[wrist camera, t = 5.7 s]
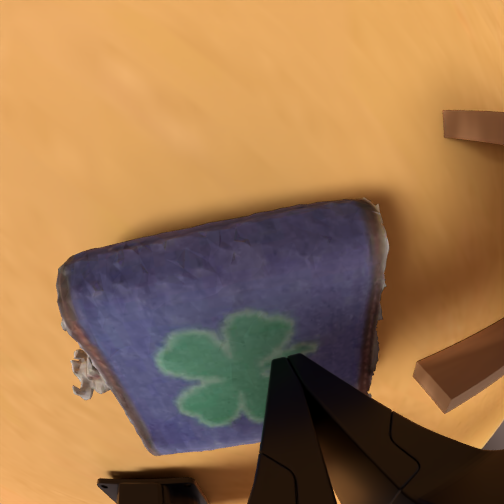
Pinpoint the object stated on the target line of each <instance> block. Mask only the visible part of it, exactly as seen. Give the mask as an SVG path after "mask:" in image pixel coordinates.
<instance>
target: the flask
mask: <svg viewBox="0 0 504 504" xmlns="http://www.w3.org/2000/svg"><path fill="white" fill-rule="evenodd" d="M382 224H383V220H382V217H381V215H380V210H379V204H377V205H376V206H375V205H374V204H373V203H372V202H371V201H370V200H367V199H366V198H362V199H356V200H354V199H344V200H339V201H327V202H316V203H312V204H299V205H295V206H292V207H286V208H280V209H277V210H274V211H267V212H260V213H255V214H253V215H250V216H246V217H240V218H235V219H229V220H223V221H217V222H211V223H207V224H203V225H199V226H196V227H192V228H187V229H181V230H176V231H171V232H165V233H160V234H157V235H153V236H148V237H142V238H138V239H134V240H130V241H126V242H122V243H117V244H113V245H109V246H105V247H101V248H94V249H90V250H86V251H83V252H80V253H78V254H76V255H73V256H71V257H70V258H69V259H68V260H67V261H66V262H65V263H64V264H63V265H62V266H61V267H60V268H59V269H58V277H57V283H56V288H57V293H58V301H57V302H58V306H59V310H60V314H61V317H62V322H61V326H62V328H63V330H64V331H67V332H68V334H69V335H70V336H71V337H72V338H73V339H74V340H75V341H76V342H78V344H79V346H80V348H81V349H82V350H80V349H78V350H76V351H75V352H74V358H75V359H79V361H75V360H71V363H72V370H73V372H74V374H75V375H76V376H77V377H78V379H79V380H80V381H81V388H80V389H79V388H77V387H75V386H74V385H73V387H72V388H73V392H74V394H75V395H79V396H81V397H82V398H83V399H85V400H88V399H91V397H92V394H93V390H94V389H95V390H96V392H98V393H100V394H102V393H105V392H107V391H109V390H111V391H112V392H113V394H114V395H115V397H116V399H117V400H118V402H119V403H120V405H121V406H122V408H123V409H124V411H125V413H126V415H127V417H128V418H129V420H130V422H131V423H132V424H133V425H134V427H135V429H136V432H137V434H138V435H139V436H140V438H141V440H142V442H143V444H144V446H145V447H146V449H147V450H148V451H149V452H150V453H151V454H153V455H155V456H160V455H167V454H175V453H183V452H193V451H204V450H214V449H219V448H225V447H232V446H238V445H244V444H253V443H258V442H261V436H262V429H263V422H264V415H265V407H266V400H267V392H268V384H269V376H270V368H271V361H272V360H273V359H276V358H280V357H286V358H287V356H289V355H293V354H297V353H302V354H303V355H305V356H306V357H308V358H310V359H311V360H313V361H314V362H316V363H317V364H319V365H320V366H322V367H323V368H325V369H326V370H328V371H329V372H331V373H333V374H334V375H336V376H337V377H339V378H340V379H342V380H344V381H345V382H347V383H348V384H350V385H352V386H353V387H355V388H356V389H358V390H360V391H361V392H363V393H364V394H366V395H368V396H369V397H371V394H368V393H367V391H369V388H370V385H371V380H372V376H373V375H374V373H373V372H374V371H375V369H376V363H377V361H378V352H379V345H378V344H379V342H378V341H377V340H378V337H377V331H376V328H377V327H376V325H377V322H378V320H381V319H383V318H382V310H381V304H380V300H381V293H382V291H383V289H384V286H385V287H386V284H385V279H384V276H385V275H384V271H385V268H386V260H387V254H388V251H389V242H388V238H386V236H387V234H386V230H385V227H384V226H383V225H382ZM84 351H85V352H84Z"/></svg>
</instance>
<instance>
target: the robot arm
mask: <svg viewBox="0 0 504 504" xmlns="http://www.w3.org/2000/svg"><path fill="white" fill-rule="evenodd" d="M259 453H260V454H259V456H258V462H257V468H256V473H255V478H254V483H253V487H252V490H251V493H250V497H249V500H248V503H247V504H337V502H336V498H335V495H334V491H335V493H336V495H337V497H338V499H339V501H340V503H341V504H504V449H503V450H483V449H478V448H475V447H472V446H469V445H466V444H464V443H461V442H458V441H456V440H453V439H450V438H448V437H445V436H443V435H440V434H438V433H435V432H433V431H431V430H429V429H426V428H424V427H422V426H420V425H418V424H416V423H414V422H412V421H410V420H408V419H407V418H405V417H403V416H401V415H400V414H398V413H396V412H394V411H393V412H392V410H391V409H389V408H387V407H386V406H384V405H382V404H381V403H379V402H377V401H376V400H374V399H373V398H371V397H369V396H368V395H366V394H364V393H363V392H361V391H360V390H358V389H356V388H355V387H353V386H352V385H350V384H348V383H347V382H345V381H344V380H342V379H340V378H339V377H337V376H336V375H334V374H333V373H331V372H329V371H328V370H326V369H325V368H323V367H322V366H320V365H319V364H317V363H316V362H314V361H313V360H311V359H310V358H308V357H306V356H305V355H303V354H302V353H297V354H293V355H289V356H287V358H286V357H280V358H276V359H273V360H272V361H271V368H270V376H269V384H268V392H267V400H266V407H265V415H264V422H263V429H262V436H261V443H260V450H259ZM97 486H98V487H99V488H100V489H101V490H102V491H103V492H105V493H106V494H107V495H108V496H109V497H110V498H111V499H112V500H113V501H115V502H116V503H117V504H210V503H209V502H208V500H207V499H206V497H205V495H204V494H203V492H202V491H201V489H200V488H199V486H198V484H197V483H196V481H195V480H194V479H193V478H189V477H182V478H166V479H102V478H101V479H98V481H97ZM332 487H333V488H332ZM333 489H334V491H333Z"/></svg>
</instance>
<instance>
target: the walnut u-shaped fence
mask: <svg viewBox="0 0 504 504" xmlns="http://www.w3.org/2000/svg"><path fill="white" fill-rule="evenodd" d="M443 120H444V137H446V138H455V139H464V140H472V141H480V142H487V143H493V144H500V145H504V112H491V111H465V110H443ZM503 375H504V318H503V319H501V320H500V321H498V322H496V323H495V324H493V325H491V326H489V327H487V328H486V329H484V330H482V331H480V332H478V333H476V334H475V335H473V336H471V337H469V338H467V339H465V340H463V341H461V342H459V343H457V344H455V345H453V346H451V347H449V348H447V349H445V350H442V351H440V352H438V353H436V354H434V355H432V356H429V357H427V358H425V359H422V360H420V361H418V362H417V364H416V367H415V371H414V374H413V377H414V378H415V380H416V381H417V382H418V383H419V384H420V385H421V387H422V388H423V389H424V390H425V391H426V392H427V394H428V395H429V396H430V397H431V398H432V400H433V401H434V402H435V403H436V404H437V406H438V407H439V408H440V409H441V410H442V412H443V413H444V414H445V413H447V412H449V411H451V410H452V409H454V408H456V407H457V406H459V405H461V404H462V403H464V402H465V401H467V400H469V399H470V398H472V397H473V396H475V395H476V394H478V393H479V392H481V391H482V390H484V389H485V388H487V387H488V386H490V385H491V384H492V383H494V382H495V381H497V380H498V379H499V378H501V377H502V376H503Z"/></svg>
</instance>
